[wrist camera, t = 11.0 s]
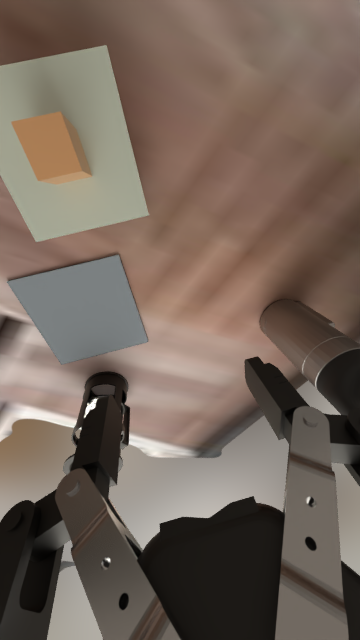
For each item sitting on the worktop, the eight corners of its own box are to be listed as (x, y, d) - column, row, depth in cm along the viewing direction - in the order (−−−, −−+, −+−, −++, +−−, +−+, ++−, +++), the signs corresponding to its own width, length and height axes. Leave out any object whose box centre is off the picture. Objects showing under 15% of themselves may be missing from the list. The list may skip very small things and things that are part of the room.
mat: (118, 254, 34) (118, 255, 34) (148, 340, 44) (148, 342, 43) (8, 280, 34) (6, 281, 33) (62, 363, 43) (61, 364, 42)
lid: (108, 53, 20) (97, -1, 15) (148, 214, 27) (150, 218, 22) (-43, 82, 19) (-111, 38, 14) (40, 240, 26) (15, 250, 21)
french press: (73, 387, 46) (25, 525, 27) (102, 363, 45) (73, 491, 25) (114, 409, 52) (100, 536, 32) (142, 388, 50) (144, 510, 30)
